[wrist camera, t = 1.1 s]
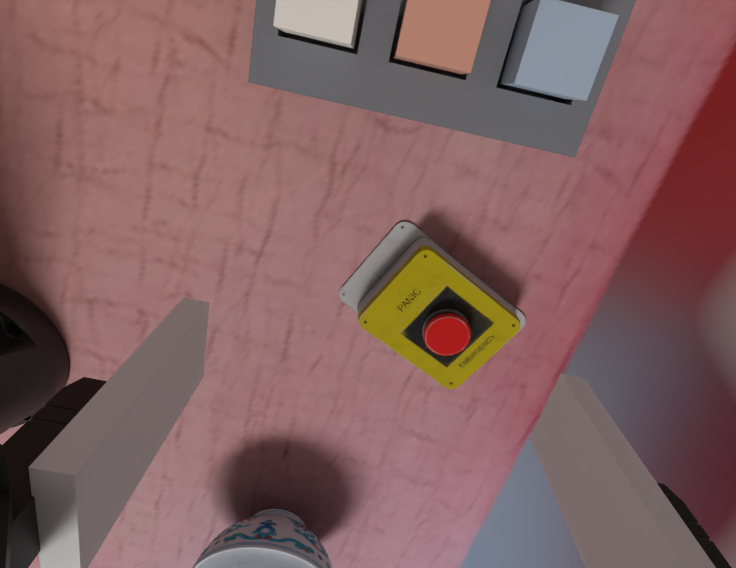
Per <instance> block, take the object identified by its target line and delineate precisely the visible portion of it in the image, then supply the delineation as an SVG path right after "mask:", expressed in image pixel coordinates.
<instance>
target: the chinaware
mask: <svg viewBox="0 0 736 568" xmlns="http://www.w3.org/2000/svg"><path fill="white" fill-rule="evenodd" d="M193 568H332V566H331V563H330V560H329V557H328V555H327V553H326V551H325V549H324V547H323V545H322V544H321V542H320V541H319V539H318V538H317V537H316V536H315V535H314V533H313V532H312V531H310V530H309V529H308V528H307V527H306V526H305V524H304V523H303V521H302V520H301V519H300V518H299V517H298V516H297V515H295V514H293V513H291V512H289V511H286V510H282V509H266V510H263V511H260V512H258V513H256V514H255V515H254V516H252V517H248V518H246V519H243V520H241V521H239V522H237V523H235V524H233V525H231V526H230V527H228V528H227V529H225V530H224V531H223V532H222V533H220V534H219V535H218V536H217V537H216V538H215V539H214V540H213V541H212V542H211V543H210V544H209V545H208V547H207V548H206V549H205V550H204V552H203V553H202V554H201V556H200V557H199V558H198V560H197V562H196V563H195V565H194V566H193Z"/></svg>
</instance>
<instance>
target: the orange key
mask: <svg viewBox="0 0 736 568" xmlns="http://www.w3.org/2000/svg"><path fill="white" fill-rule="evenodd" d="M490 2H491V0H406V4H405V9H404V14H403V19H402V23H401V28H400V33H399V37H398V42H397V47H396V51H395V56H394V59H398V60H403V61H407V62H411V63H415V64H419V65H424V66H428V67H432V68H436V69H440V70H444V71H449V72H453V73H457V74H467V73H471V70H472V66H473V63H474V59H475V56H476V52H477V48H478V45H479V41H480V38H481V34H482V30H483V27H484V23H485V20H486V16H487V12H488V9H489V5H490Z"/></svg>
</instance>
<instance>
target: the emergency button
mask: <svg viewBox="0 0 736 568" xmlns="http://www.w3.org/2000/svg"><path fill="white" fill-rule="evenodd" d="M339 295H340V299H341V300H342V301H343V302H344V303H345V304H346V305H347V306H349V307H350V308H352V309H353V310H354V311H356V312H357V313H358V321H359V325H360V326H361V327H362V328H363V329H364V330H366V331H367V332H368V333H370V334H371V335H373V336H374V337H375V338H377V339H378V340H380V341H381V342H382V343H384V344H385V345H387V346H388V347H389V348H391V349H392V350H393V351H395V352H396V353H398V354H399V355H400V356H402V357H403V358H405V359H406V360H407V361H409V362H410V363H412V364H413V365H414V366H416V367H417V368H419V369H420V370H421V371H423V372H424V373H426V374H427V375H428V376H430V377H431V378H432V379H434V380H435V381H437V382H438V383H439V384H441V385H442V386H444V387H445V388H447V389H455V388H457V387H459V386H460V385H461V384H462V383H463V382H464V381H465V380H466V379H468V378H469V377H470V376H471V375H472V374H473V373H474V372H475V371H476V370H477V369H479V368H480V367H481V366H482V365H483V364H484V363H485V362H486V361H487V360H488V359H490V358H491V357H492V356H493V355H494V354H495V353H496V352H497V351H498V350H500V349H501V348H502V347H503V346H504V345H505V344H506V343H507V342H508V341H509V340H511V339H512V338H513V337H514V336H515V335H516V334H517V333H518V332H519V331H520V330H521V329H522V328H523V327H524V325H525V324H526V318H525V316H524V315H523V314H522V312H520V311H519V310H518V309H517V308H515V307H514V306H513V305H512V304H511V303H509V302H508V301H507V300H506V299H504V298H503V297H502V296H501V295H499V294H498V293H497V292H496V291H495V290H493V289H492V288H491V287H490V286H488V285H487V284H486V283H485V282H484V281H482V280H481V279H480V278H479V277H477V276H476V275H475V274H474V273H473V272H471V271H470V270H469V269H468V268H466V267H465V266H464V265H463V264H461V263H460V262H459V261H458V260H457V259H455V258H454V257H453V256H452V255H450V254H449V253H448V252H447V251H446V250H444V249H443V248H442V247H441V246H439V245H438V244H437V243H436V242H435V241H433V240H432V239H431V238H430V237H428V236H427V235H426V234H425V233H424V232H422V231H421V230H420V229H419V228H417V227H416V226H415V225H414V224H412V223H410V222H408V221H403V222H399V223H398V224H396V225H395V226H394V227H393V229H392V230H391V231H390V232H389V233H388V234H387V235H386V237H385V238H384V239H383V240H382V241H381V242H380V244H379V245H378V246H377V247H376V248H375V249H374V250H373V252H372V253H371V254H370V255H369V256H368V257H367V259H366V260H365V261H364V262H363V263H362V264H361V265H360V267H359V268H358V269H357V270H356V271H355V272H354V274H353V275H352V276H351V277H350V278H349V279H348V280H347V282H346V283H345V284H344V285H343V286H342V287H341V289H340V292H339Z"/></svg>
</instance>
